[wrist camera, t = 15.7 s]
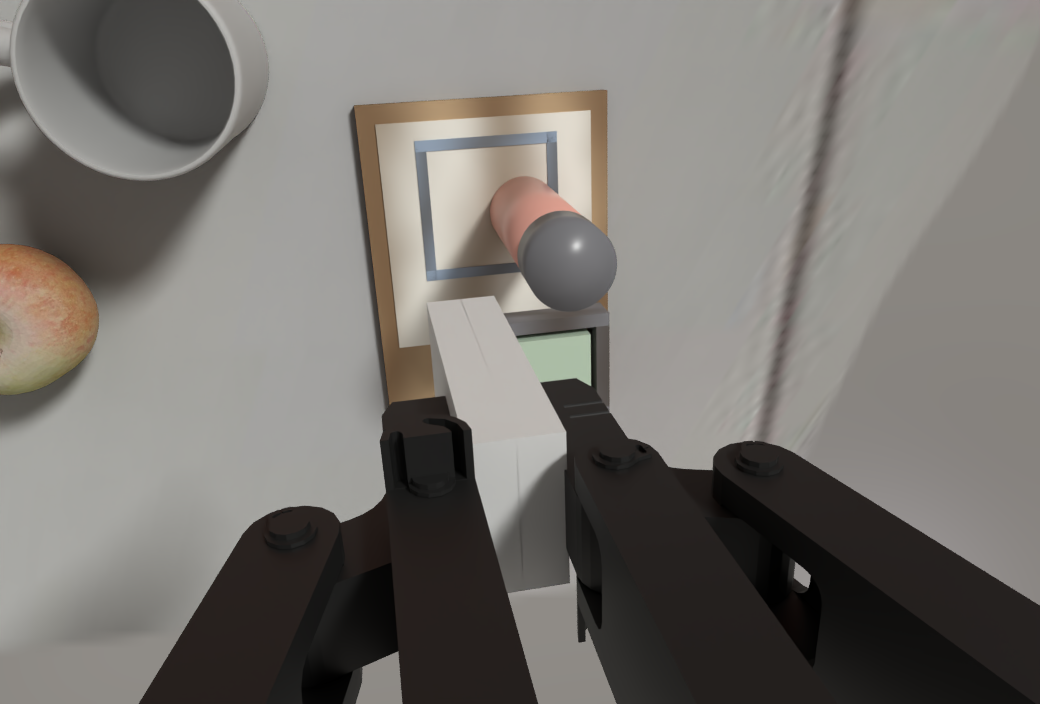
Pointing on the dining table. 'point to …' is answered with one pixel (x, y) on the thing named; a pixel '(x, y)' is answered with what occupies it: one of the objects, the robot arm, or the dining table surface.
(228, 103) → the mug
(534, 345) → the button
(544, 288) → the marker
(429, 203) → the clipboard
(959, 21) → the dining table surface
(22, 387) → the fruit
